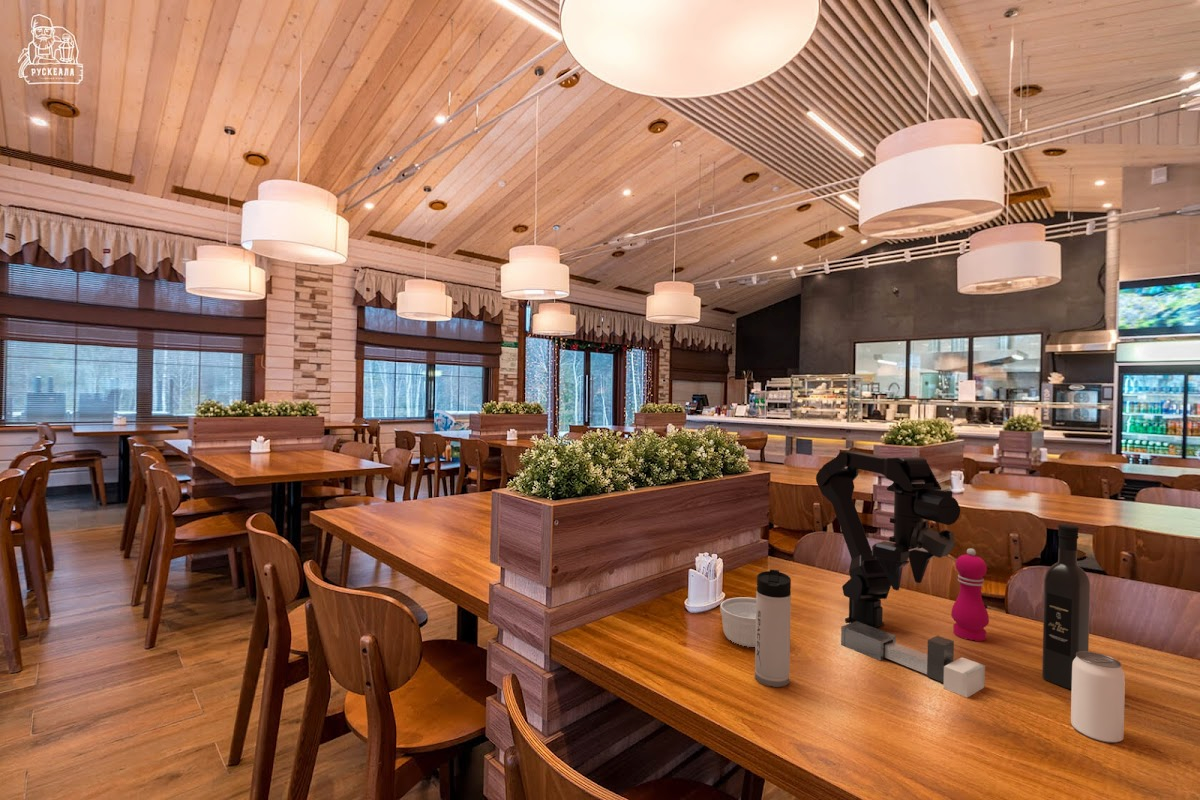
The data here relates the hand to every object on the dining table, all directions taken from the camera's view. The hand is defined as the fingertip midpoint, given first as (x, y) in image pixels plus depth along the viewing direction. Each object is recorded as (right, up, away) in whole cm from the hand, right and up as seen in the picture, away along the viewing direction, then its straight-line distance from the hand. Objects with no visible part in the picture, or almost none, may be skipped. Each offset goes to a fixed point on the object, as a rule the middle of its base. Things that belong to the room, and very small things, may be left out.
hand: (907, 586), depth 124 cm
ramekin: (-34, -13, +3) cm, 36 cm away
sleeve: (-9, -13, -2) cm, 16 cm away
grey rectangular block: (+1, -13, -18) cm, 22 cm away
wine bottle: (+22, -14, -15) cm, 30 cm away
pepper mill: (+18, -14, +6) cm, 23 cm away
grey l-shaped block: (-2, -13, -13) cm, 18 cm away
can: (+14, -14, -31) cm, 37 cm away
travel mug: (-34, -13, -16) cm, 40 cm away
